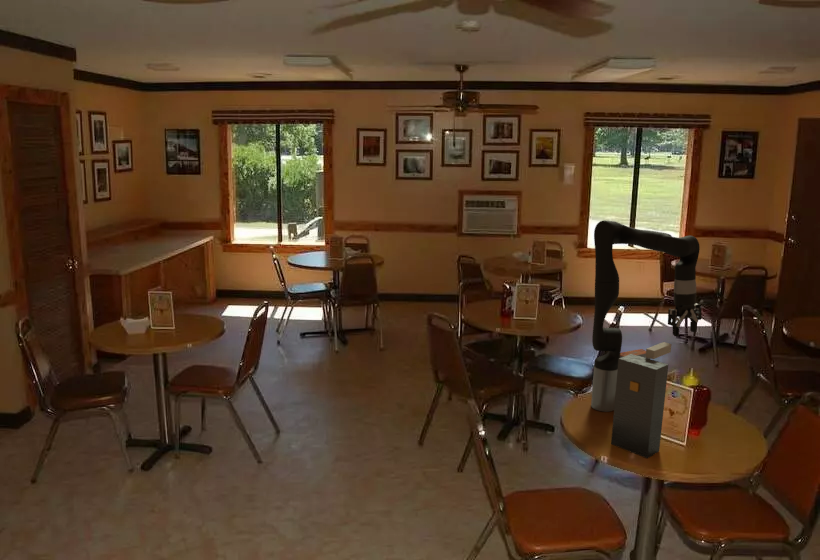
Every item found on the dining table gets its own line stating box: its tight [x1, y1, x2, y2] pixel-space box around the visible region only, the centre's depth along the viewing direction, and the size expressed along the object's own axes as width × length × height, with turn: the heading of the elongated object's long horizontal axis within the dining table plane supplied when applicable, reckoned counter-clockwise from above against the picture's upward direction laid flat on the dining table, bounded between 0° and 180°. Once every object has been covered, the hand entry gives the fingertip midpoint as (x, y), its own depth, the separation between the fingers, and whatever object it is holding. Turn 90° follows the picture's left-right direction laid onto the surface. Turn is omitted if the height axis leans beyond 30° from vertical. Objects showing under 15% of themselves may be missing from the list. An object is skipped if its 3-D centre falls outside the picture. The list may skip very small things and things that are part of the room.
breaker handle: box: [645, 341, 672, 360], centre depth 232 cm, size 12×3×3 cm, turn 131°
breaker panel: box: [610, 354, 669, 459], centre depth 229 cm, size 9×14×32 cm, turn 41°
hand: (684, 333), depth 244 cm, fingers open, 8 cm apart
